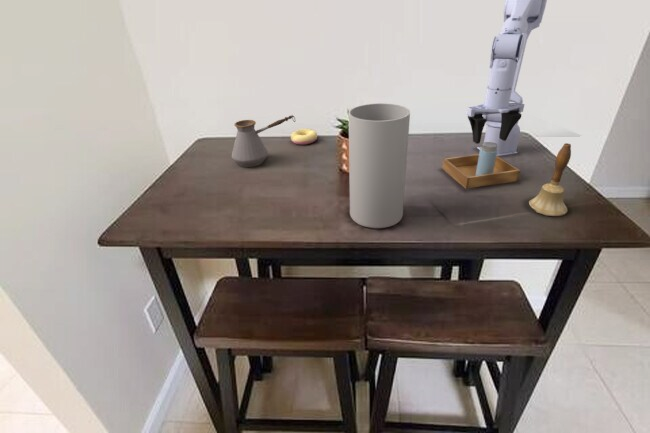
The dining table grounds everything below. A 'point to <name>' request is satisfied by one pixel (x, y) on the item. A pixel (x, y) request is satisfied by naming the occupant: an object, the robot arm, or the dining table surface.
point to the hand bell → (553, 188)
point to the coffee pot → (251, 143)
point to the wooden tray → (466, 171)
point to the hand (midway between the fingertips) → (489, 140)
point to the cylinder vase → (377, 163)
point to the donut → (304, 136)
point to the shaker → (486, 158)
